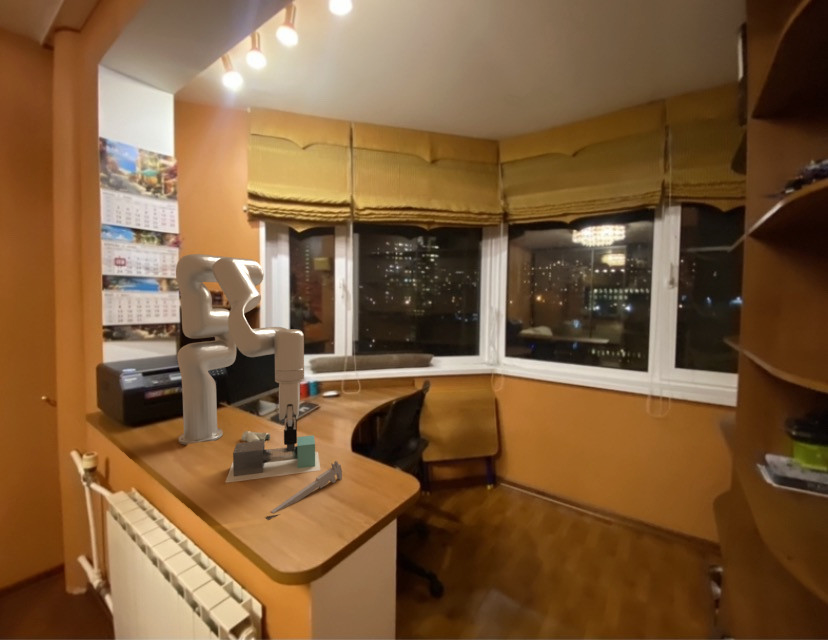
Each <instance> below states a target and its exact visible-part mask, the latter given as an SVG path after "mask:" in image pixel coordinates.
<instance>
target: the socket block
mask: <svg viewBox="0 0 828 640" xmlns="http://www.w3.org/2000/svg"><path fill="white" fill-rule="evenodd" d="M296 444H297V445H296V446H297V455H298V468H304V467H312V466H315V452H316V440H315V435H313V434H311V435H305V436H297V443H296Z"/></svg>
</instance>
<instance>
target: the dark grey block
mask: <svg viewBox="0 0 828 640" xmlns="http://www.w3.org/2000/svg"><path fill="white" fill-rule="evenodd" d="M263 450H266V449H265V443H264V441H254V442H247V441H244V442H238V443H237V442H236V443H235V446H234V449H233V452H232V463H233V473H234V476H242V475H249V474H257V473H263V470H264V464H265V463H263Z"/></svg>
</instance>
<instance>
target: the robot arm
mask: <svg viewBox="0 0 828 640" xmlns="http://www.w3.org/2000/svg"><path fill="white" fill-rule="evenodd" d="M264 275H265V274H264V270H263V267H262V265H261V264H260V263H259V262H258V261H257V260H254V259H251V258H243V257H242V258H241V257H232V256H231V257H230V256H222V255H220V256H219V255H211V254H203V253H202V254H200V253H193V254H191V253H190V254H186V255H184V256H181V258H179V260H178V261H177V264H176V267H175V277H176V279H175V280H176V281H177V286H178V288H179V292H180V305H181V326H182V327H181V328H182V333H183V334H184V336H185V337H187V338H189V339H206V338H214V340H211V341H210V340H207V341H201V342H200V341H199V342H192V343H187V344H186V345H183V346H182V347H181V348H180V349H179V350H178V352H177V355H176V356H177V357H176V358H177V363H178V367H179V372H180V376H181V377H180V379H181V386H182V387H181V389H182V391H181V393H182V414H183V415H182V417H183V433H182V434H180V436H179V437H178V443H180V444H181V445H186V446H188V444H195V443H197V444H198V443H204V442H214V441H217V440H219V439H220V438H221V437H223V433H224V432H223V430H222V429H221V428H218V414H217V413H218V411H217V410H218V409H217V408H218V407H217V385H216V384H217V383H216V381H215V379H214V378H213V377H212V375H211V374H210V373H209V371H212V370H218V369H223V368H226V367H230V366H231V365H233V364H234V363H235V361H236V359H237V358H236V357H237V350H238V351H239V352H240V353H241V354H242V355H243V356H246V357H249V358H256V357H263V356H266V355H267V356H268V355H274V382H275V383H277V384H278V419H279V421H282V420H284V429H283V445H285V446H287V445H289V444H295V445H296V444H297V437H298V427H297V426H298V423H297V422H298V421H297V420H298V418H299V414H300V399H301V398H300V397H301V388H300V387H301V382H303V381H305V340H304V339H305V335H304V332H303V331H302V330H301V329H295V328H294V329H293V328H292V329H291V328H285V327H281V326H271V327H260V328H252V327H251V326H250V324H249V322H248V320H247V318H246V317H245V314H246V313H248V312H251V310H253V309H254V308H256V307H257V306H258V305H259V303H260V302H261V300H262V295H261V293H260V291H259V289H258V288H257V286H259V285H260V284H262V282H263V280H264ZM205 283H216V284H218V285H219V287H220V289H221V291H222V292H223V295H224V296H225V297H226V300H227V302H228V303H229V305H230V306H231V308H230V310H228V309H227V308H223V307H222V308H221V307H220V308H217V307H216V308H215V307H214V308H213V301H212V300H213V299H212V293H211V292H210V290H209V288H208V287H207V286H206V284H205Z"/></svg>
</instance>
